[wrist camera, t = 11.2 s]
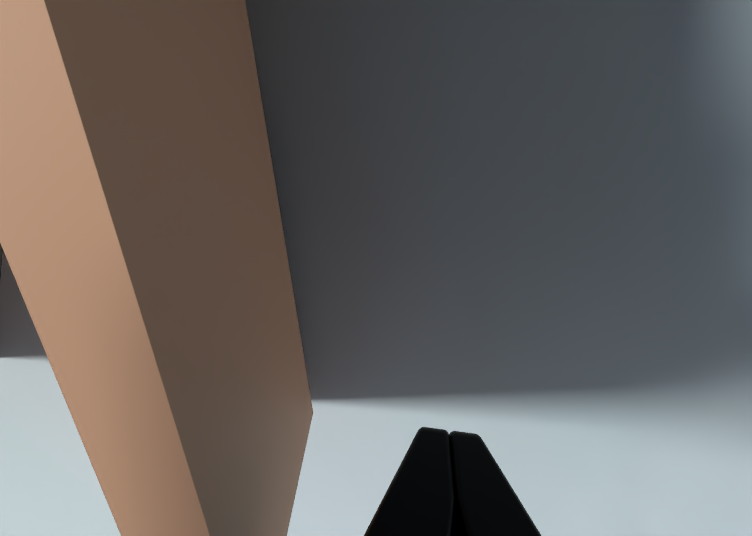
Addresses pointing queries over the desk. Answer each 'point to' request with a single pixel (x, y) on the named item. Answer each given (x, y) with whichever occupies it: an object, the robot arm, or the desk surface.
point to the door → (156, 256)
